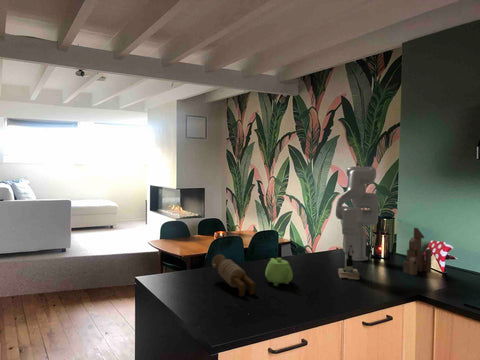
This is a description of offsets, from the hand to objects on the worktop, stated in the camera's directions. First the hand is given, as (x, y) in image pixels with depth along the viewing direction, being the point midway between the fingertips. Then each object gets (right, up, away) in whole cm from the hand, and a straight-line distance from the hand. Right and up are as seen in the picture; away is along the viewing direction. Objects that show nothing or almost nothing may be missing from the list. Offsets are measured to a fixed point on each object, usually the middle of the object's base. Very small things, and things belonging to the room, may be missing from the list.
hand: (348, 264), depth 213 cm
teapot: (-39, -7, -12) cm, 41 cm away
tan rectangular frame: (0, -6, 0) cm, 6 cm away
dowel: (0, -4, 0) cm, 4 cm away
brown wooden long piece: (-62, -7, -20) cm, 66 cm away
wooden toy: (+41, -6, +10) cm, 43 cm away
